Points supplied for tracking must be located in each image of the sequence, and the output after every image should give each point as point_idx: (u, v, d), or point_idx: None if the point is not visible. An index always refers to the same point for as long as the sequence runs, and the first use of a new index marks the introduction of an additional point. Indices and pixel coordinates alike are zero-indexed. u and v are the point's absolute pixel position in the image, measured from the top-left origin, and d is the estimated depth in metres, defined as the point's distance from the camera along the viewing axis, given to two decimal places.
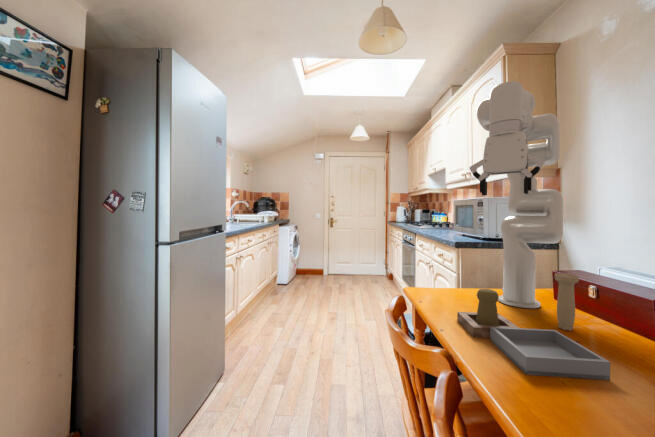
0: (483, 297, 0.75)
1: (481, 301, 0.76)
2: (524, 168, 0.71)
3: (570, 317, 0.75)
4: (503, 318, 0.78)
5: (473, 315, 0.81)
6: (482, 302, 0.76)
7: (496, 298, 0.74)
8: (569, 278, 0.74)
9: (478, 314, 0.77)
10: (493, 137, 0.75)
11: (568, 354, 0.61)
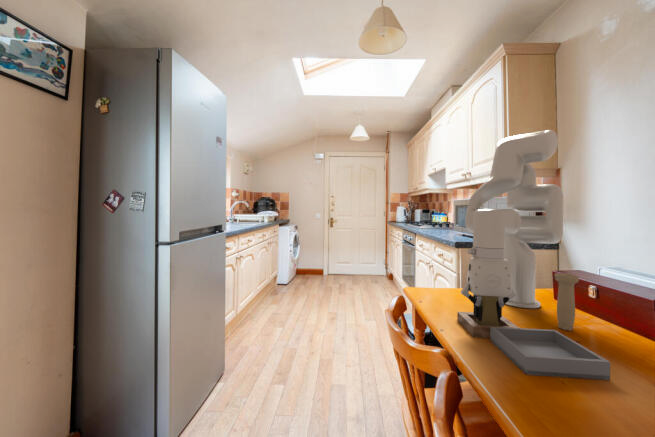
0: (483, 297, 0.75)
1: (481, 301, 0.76)
2: None
3: (570, 317, 0.75)
4: (503, 318, 0.78)
5: (473, 315, 0.81)
6: (482, 302, 0.76)
7: (496, 298, 0.74)
8: (569, 278, 0.74)
9: None
10: None
11: (568, 354, 0.61)
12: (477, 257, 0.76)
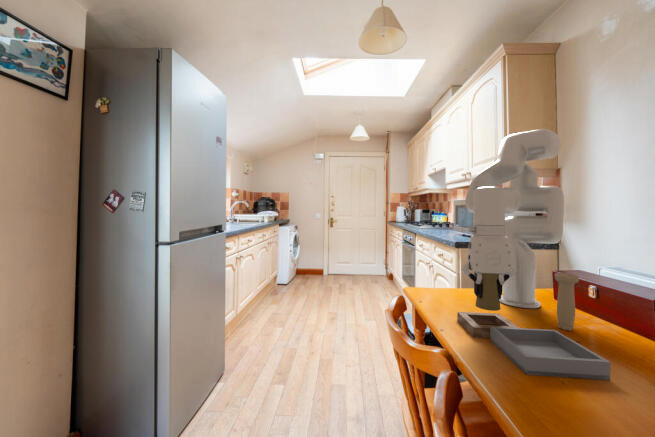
0: (483, 275, 0.75)
1: (482, 279, 0.76)
2: None
3: (570, 317, 0.75)
4: (503, 318, 0.78)
5: (473, 315, 0.81)
6: (482, 279, 0.76)
7: (496, 275, 0.75)
8: (569, 278, 0.74)
9: None
10: None
11: (568, 354, 0.61)
12: (477, 235, 0.76)
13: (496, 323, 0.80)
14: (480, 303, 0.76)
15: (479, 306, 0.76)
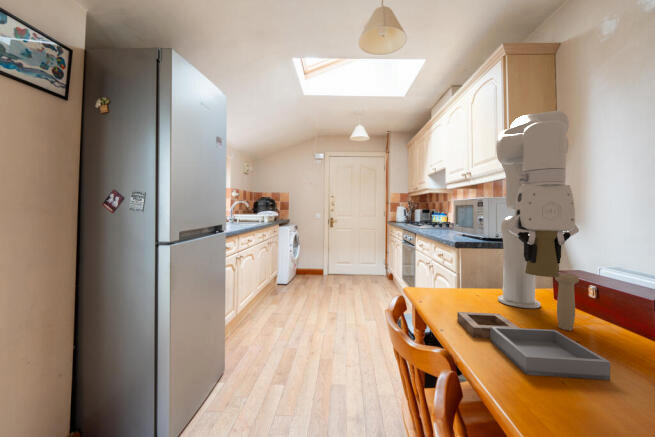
0: (538, 233, 0.60)
1: (535, 239, 0.61)
2: None
3: (570, 317, 0.75)
4: (503, 318, 0.78)
5: (473, 315, 0.81)
6: (536, 239, 0.61)
7: (555, 233, 0.59)
8: (569, 278, 0.74)
9: None
10: None
11: (568, 354, 0.61)
12: (530, 183, 0.60)
13: (496, 323, 0.80)
14: (533, 269, 0.61)
15: (532, 272, 0.61)
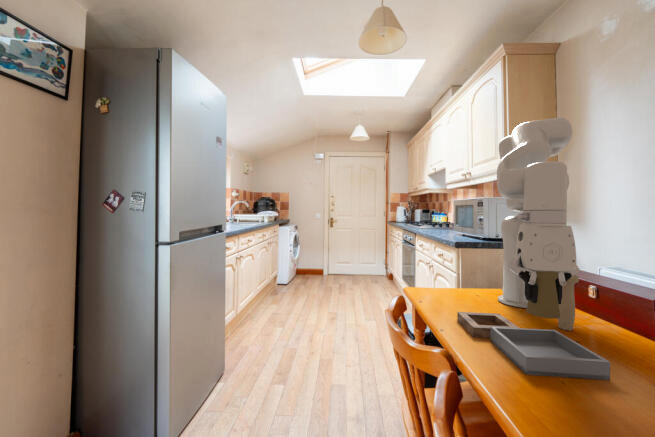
0: (539, 273, 0.60)
1: (536, 279, 0.61)
2: None
3: (570, 317, 0.75)
4: (503, 318, 0.78)
5: (473, 315, 0.81)
6: (537, 279, 0.60)
7: (556, 274, 0.59)
8: None
9: None
10: None
11: (568, 354, 0.61)
12: (531, 223, 0.60)
13: (496, 323, 0.80)
14: (534, 309, 0.60)
15: (533, 313, 0.60)
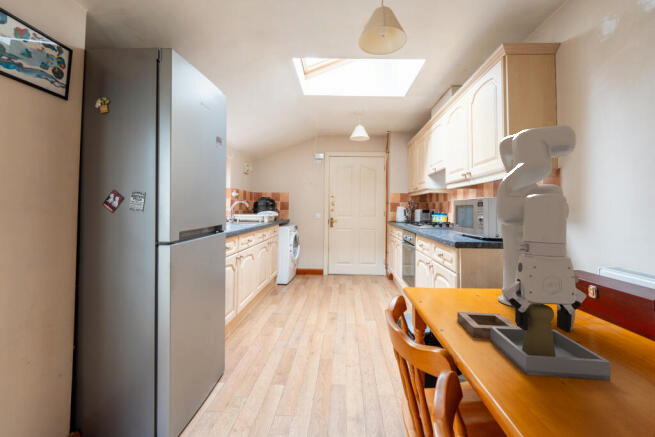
0: (535, 314, 0.60)
1: (532, 319, 0.61)
2: None
3: None
4: (503, 318, 0.78)
5: (473, 315, 0.81)
6: (533, 320, 0.61)
7: (552, 315, 0.59)
8: None
9: (527, 335, 0.62)
10: None
11: (568, 354, 0.61)
12: (531, 254, 0.60)
13: (496, 323, 0.80)
14: (529, 350, 0.61)
15: (528, 353, 0.61)
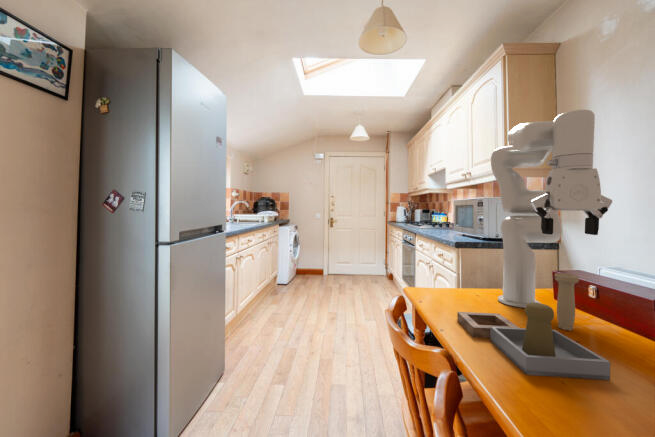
0: (535, 314, 0.60)
1: (532, 319, 0.61)
2: None
3: (570, 317, 0.75)
4: (503, 318, 0.78)
5: (473, 315, 0.81)
6: (533, 320, 0.61)
7: (552, 315, 0.59)
8: (569, 278, 0.74)
9: (527, 335, 0.62)
10: None
11: (568, 354, 0.61)
12: (560, 167, 0.67)
13: (496, 323, 0.80)
14: (529, 350, 0.61)
15: (528, 353, 0.61)
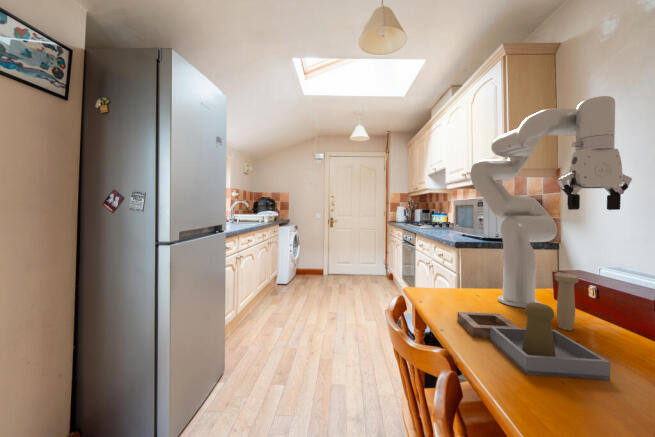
0: (535, 314, 0.60)
1: (532, 319, 0.61)
2: None
3: (570, 317, 0.75)
4: (503, 318, 0.78)
5: (473, 315, 0.81)
6: (533, 320, 0.61)
7: (552, 315, 0.59)
8: (569, 278, 0.74)
9: (527, 335, 0.62)
10: None
11: (568, 354, 0.61)
12: (584, 148, 0.73)
13: (496, 323, 0.80)
14: (529, 350, 0.61)
15: (528, 353, 0.61)
